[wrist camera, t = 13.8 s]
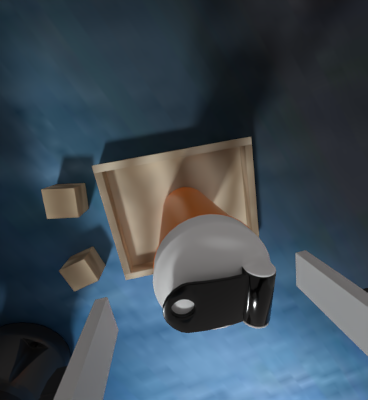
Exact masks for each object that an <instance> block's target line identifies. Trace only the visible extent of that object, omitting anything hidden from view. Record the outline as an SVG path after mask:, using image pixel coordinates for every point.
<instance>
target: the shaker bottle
mask: <svg viewBox="0 0 368 400" xmlns="http://www.w3.org/2000/svg"><path fill="white" fill-rule="evenodd" d="M275 276H276V268H275V266H274V265H273V264H272V263H271V262H270V258H269V254H268V251H267V249H266V247H265V245H264V244H263V242H262V241H261V240H260V239H259V237H258V236H257V235H256V234H255V233H253V232H252V231H251V230H250V228H249V227H248V226H246V225H245V224H244V223H243V222H241V221H240V220H238V219H236V218H234V217H231V216H229V215H228V214H227V213H226V212H224V211H223V210H222V209H221V208H219V207H218V206H217V205H216V204H215V203H213V202H212V201H211V200H210V199H208V198H207V197H206V196H205V195H203V194H202V193H201V192H200V191H198V190H197V189H195V188H191V187H181V188H178V189H176V190H174V191H172V192H171V193H170V194H169V195H168V196H167V198H166V200H165V202H164V205H163V213H162V221H161V230H160V238H159V246H158V248H157V250H156V253H155V257H154V263H153V287H154V292H155V295H156V297H157V300H158V302H159V303H160V305H161V306H162V308H163V316H164V318H165V320H166V322H167V323H168V324H169V325H170V326H172V327H173V328H174V329H176V330H178V331H180V332H185V333H192V332H199V331H206V330H211V329H220V328H225V327H228V326H230V325H233V324H236V323H239V322H242V321H243V322H244V323H245V324H246V325H248V326H250V327H253V328H264V327H266V326H267V325H268V324H269V321H270V315H271V307H272V299H273V292H274V284H275Z"/></svg>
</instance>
